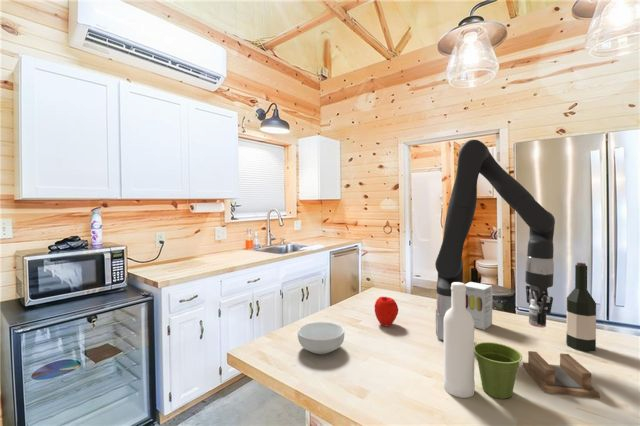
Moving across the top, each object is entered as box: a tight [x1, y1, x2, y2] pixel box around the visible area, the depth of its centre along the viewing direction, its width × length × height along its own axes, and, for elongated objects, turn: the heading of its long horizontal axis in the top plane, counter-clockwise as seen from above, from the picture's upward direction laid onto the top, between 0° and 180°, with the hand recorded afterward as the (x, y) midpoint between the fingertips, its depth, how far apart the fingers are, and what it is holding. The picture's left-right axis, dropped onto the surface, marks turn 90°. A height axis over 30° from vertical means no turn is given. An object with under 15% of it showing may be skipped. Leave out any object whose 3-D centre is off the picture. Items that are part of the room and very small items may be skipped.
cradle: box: [522, 350, 601, 398], centre depth 90 cm, size 13×14×6 cm
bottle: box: [442, 282, 476, 399], centre depth 86 cm, size 8×8×30 cm
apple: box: [374, 296, 399, 327], centre depth 134 cm, size 10×10×12 cm
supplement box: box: [464, 281, 493, 331], centre depth 133 cm, size 10×9×17 cm
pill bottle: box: [528, 299, 547, 329], centre depth 104 cm, size 5×5×8 cm
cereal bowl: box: [297, 321, 345, 355], centre depth 113 cm, size 17×17×7 cm
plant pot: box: [474, 341, 523, 400], centre depth 86 cm, size 12×12×11 cm
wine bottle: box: [565, 262, 597, 353], centre depth 110 cm, size 8×8×30 cm
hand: (537, 320), depth 104 cm, fingers closed on pill bottle, 4 cm apart
